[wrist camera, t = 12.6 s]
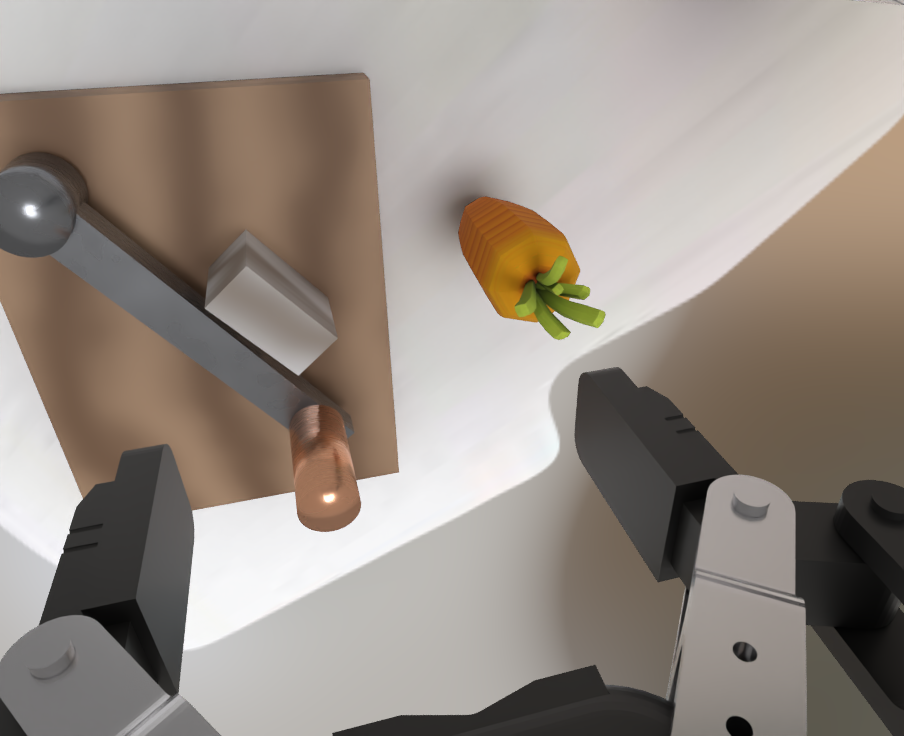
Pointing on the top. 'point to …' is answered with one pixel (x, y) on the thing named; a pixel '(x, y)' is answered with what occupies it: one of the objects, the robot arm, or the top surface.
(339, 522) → the lever
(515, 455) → the top surface
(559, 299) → the carrot
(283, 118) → the press board
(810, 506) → the robot arm
